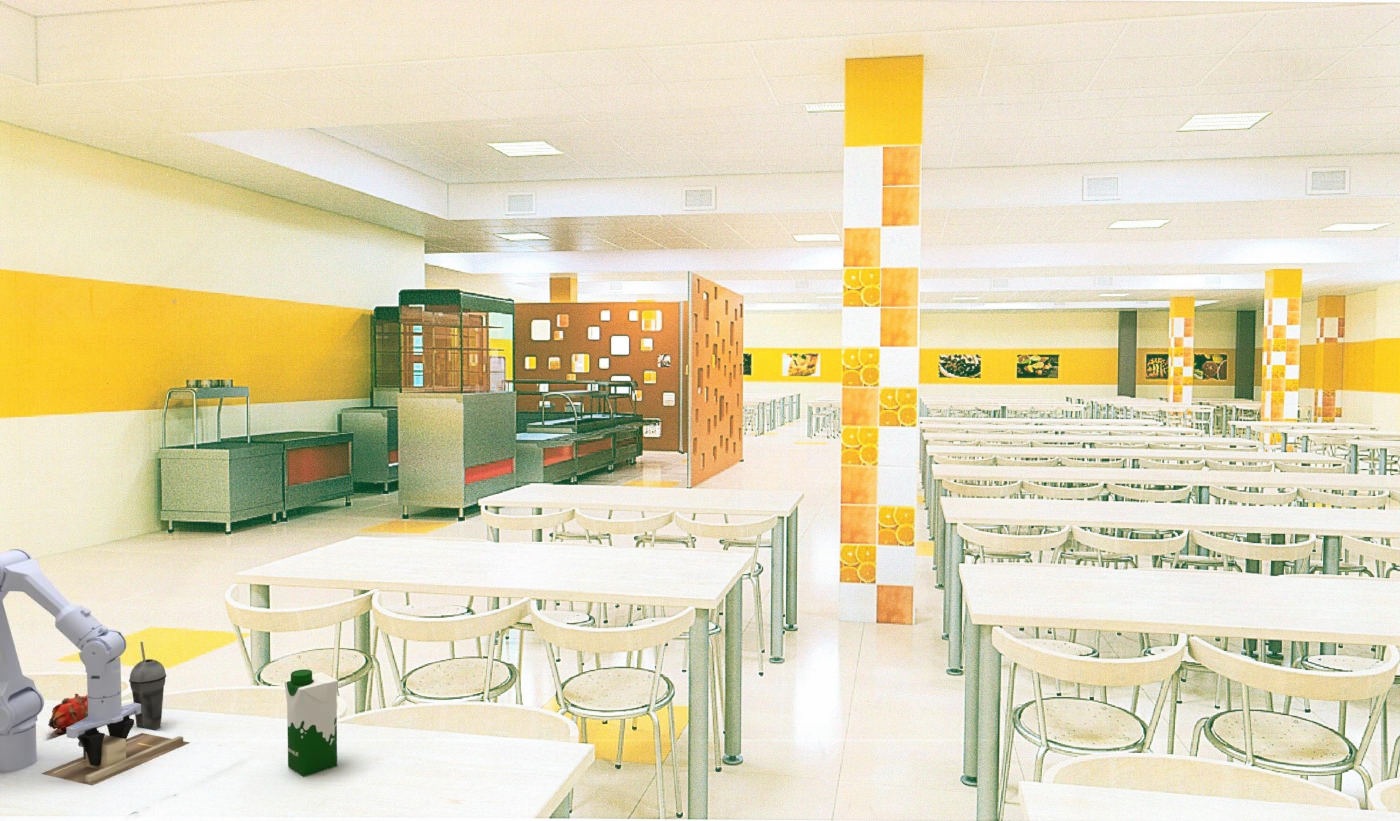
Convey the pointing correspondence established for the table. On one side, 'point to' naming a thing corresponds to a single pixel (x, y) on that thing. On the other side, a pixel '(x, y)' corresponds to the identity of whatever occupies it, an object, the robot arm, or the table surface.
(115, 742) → the block
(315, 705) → the milk carton
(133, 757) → the walnut board
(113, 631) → the robot arm
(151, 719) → the beverage cup
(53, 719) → the dragon fruit
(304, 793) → the table surface
